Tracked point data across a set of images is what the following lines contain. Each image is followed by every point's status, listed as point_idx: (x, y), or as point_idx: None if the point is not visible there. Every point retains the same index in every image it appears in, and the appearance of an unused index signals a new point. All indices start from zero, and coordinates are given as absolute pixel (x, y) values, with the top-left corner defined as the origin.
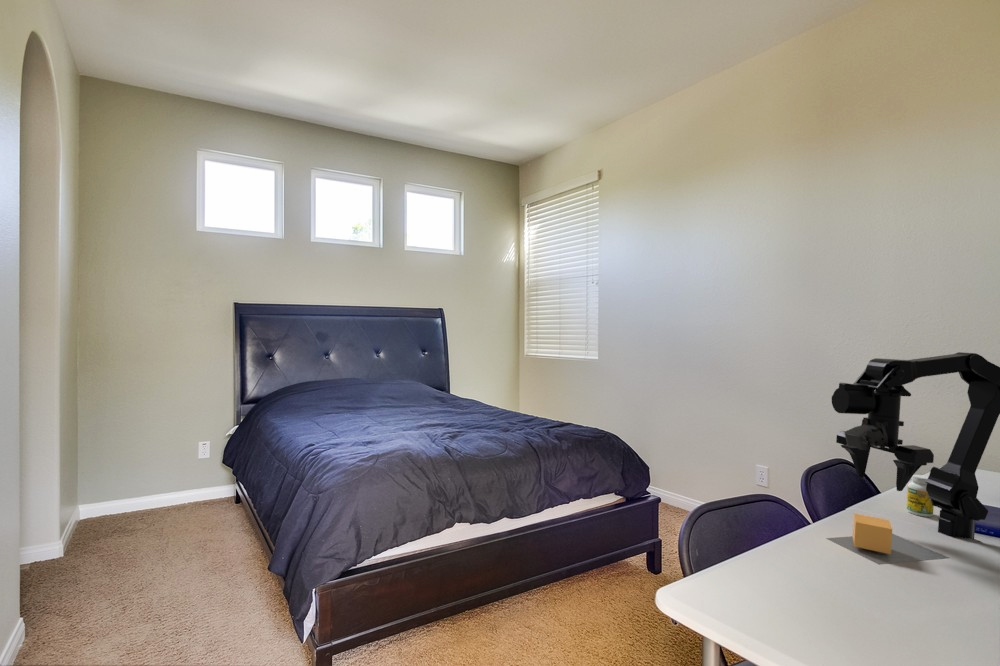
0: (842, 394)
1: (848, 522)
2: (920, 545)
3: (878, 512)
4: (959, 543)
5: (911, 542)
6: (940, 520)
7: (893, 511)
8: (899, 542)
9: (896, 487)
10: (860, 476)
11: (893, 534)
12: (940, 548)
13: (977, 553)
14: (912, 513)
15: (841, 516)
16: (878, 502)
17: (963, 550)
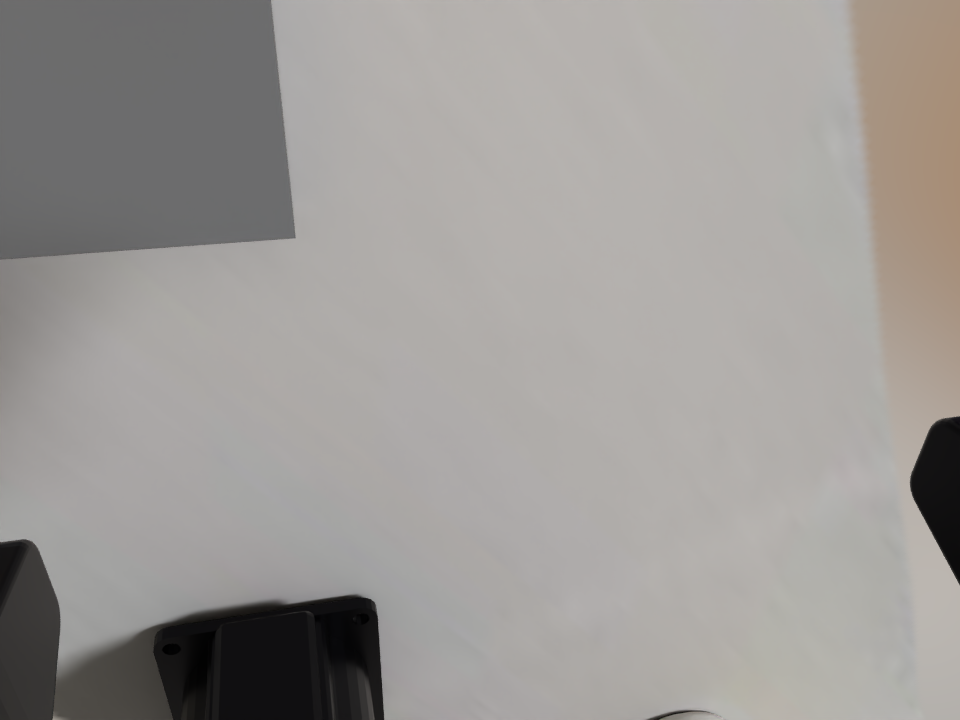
0: None
1: (730, 160)
2: None
3: (774, 557)
4: None
5: (45, 233)
6: (301, 718)
7: (747, 648)
8: (28, 87)
9: (11, 584)
10: (952, 451)
11: (268, 229)
12: (112, 476)
13: None
14: (678, 714)
15: (844, 219)
16: (876, 663)
17: (83, 597)
